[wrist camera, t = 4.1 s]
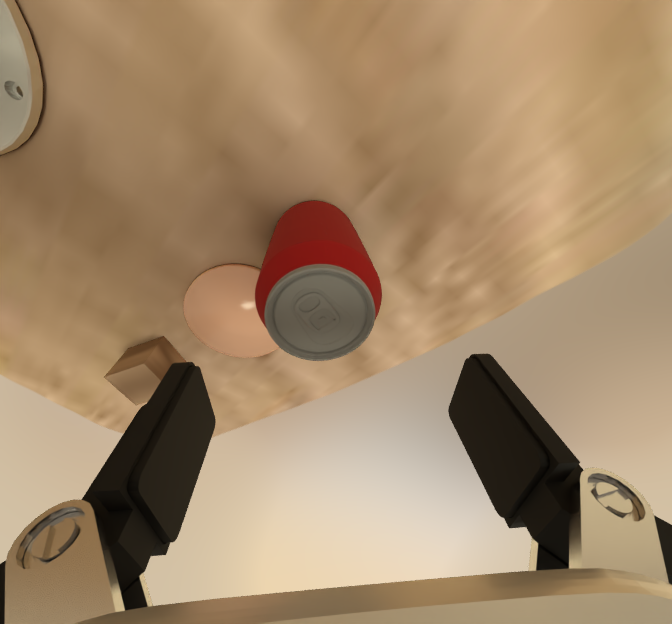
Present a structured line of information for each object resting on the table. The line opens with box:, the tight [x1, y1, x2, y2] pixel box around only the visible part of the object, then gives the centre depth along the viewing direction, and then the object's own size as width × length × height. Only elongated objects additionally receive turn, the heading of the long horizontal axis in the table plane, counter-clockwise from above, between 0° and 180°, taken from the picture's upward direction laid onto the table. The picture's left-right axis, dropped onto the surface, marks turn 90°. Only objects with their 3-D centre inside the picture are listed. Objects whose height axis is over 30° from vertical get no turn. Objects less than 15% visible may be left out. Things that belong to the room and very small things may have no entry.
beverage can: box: [255, 201, 382, 361], centre depth 19 cm, size 7×7×12 cm
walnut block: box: [104, 336, 186, 405], centre depth 27 cm, size 4×4×4 cm
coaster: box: [183, 264, 279, 358], centre depth 26 cm, size 10×10×1 cm
